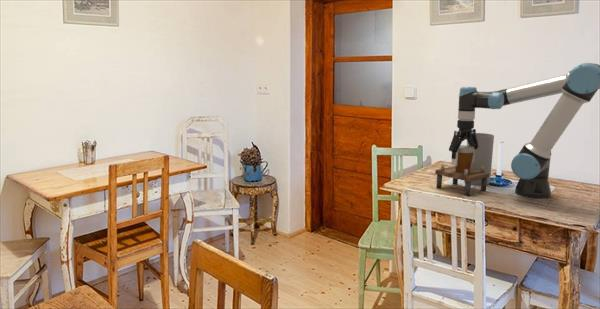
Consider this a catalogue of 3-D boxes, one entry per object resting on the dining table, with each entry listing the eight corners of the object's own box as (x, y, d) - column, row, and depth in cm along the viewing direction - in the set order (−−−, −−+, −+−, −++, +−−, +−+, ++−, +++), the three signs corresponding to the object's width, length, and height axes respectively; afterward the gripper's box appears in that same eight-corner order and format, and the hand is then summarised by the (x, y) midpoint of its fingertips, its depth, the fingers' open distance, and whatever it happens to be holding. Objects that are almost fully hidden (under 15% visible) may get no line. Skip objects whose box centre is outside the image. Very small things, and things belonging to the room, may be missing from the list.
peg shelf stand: (487, 191, 227) (490, 166, 225) (468, 196, 218) (470, 171, 216) (454, 183, 242) (455, 160, 240) (434, 187, 233) (435, 163, 231)
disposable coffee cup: (475, 173, 224) (477, 149, 221) (455, 173, 224) (457, 148, 222) (469, 169, 233) (471, 145, 231) (449, 168, 233) (451, 145, 231)
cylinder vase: (462, 184, 241) (465, 135, 236) (466, 178, 251) (469, 132, 247) (488, 187, 235) (492, 137, 230) (491, 181, 246) (495, 134, 241)
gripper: (474, 117, 234) (471, 159, 238) (442, 120, 219) (440, 165, 223) (488, 118, 228) (484, 161, 232) (456, 122, 214) (453, 168, 218)
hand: (462, 163), depth 228 cm, fingers open, 13 cm apart
